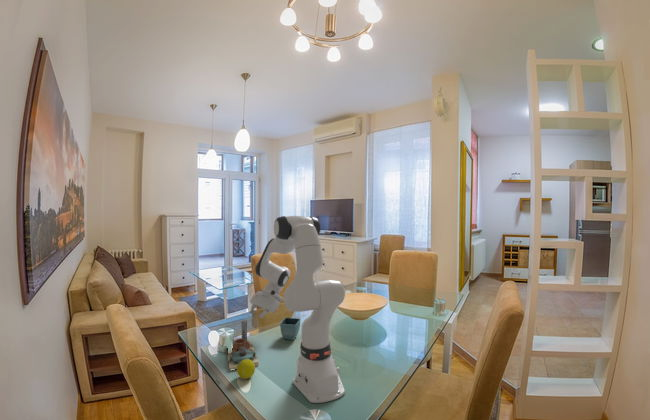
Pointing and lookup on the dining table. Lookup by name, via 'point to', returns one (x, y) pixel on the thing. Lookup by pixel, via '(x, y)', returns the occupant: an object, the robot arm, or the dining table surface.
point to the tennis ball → (246, 369)
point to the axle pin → (244, 329)
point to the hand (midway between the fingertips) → (255, 315)
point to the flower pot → (290, 328)
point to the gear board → (241, 353)
